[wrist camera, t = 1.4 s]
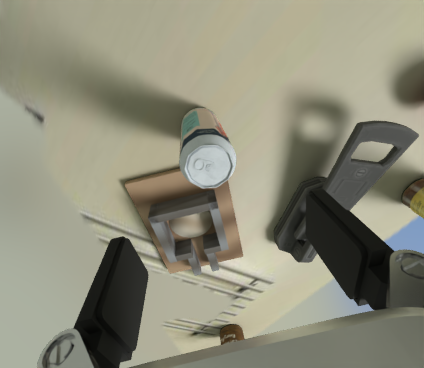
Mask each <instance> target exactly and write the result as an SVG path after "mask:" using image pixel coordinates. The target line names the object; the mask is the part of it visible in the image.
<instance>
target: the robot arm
mask: <svg viewBox="0 0 424 368" xmlns="http://www.w3.org/2000/svg"><path fill="white" fill-rule="evenodd" d="M305 232H306V237H307V239H308V240H309V242H310V243H311V245H312V246H313V248H314V249H315V250H316V252H317V253H318V255H319V256H320V258H321V259H322V260H323V262H324V263H325V265H326V266H327V268H328V269H329V271H330V272H331V273H332V275H333V276H334V278H335V279H336V281H337V282H338V283H339V285H340V286H341V288H342V289H343V291H344V292H345V293H346V295H347V296H348V297H349V298H350V299H354V301H355V302H356V303H357V305H358V306H361V305H365V304H369V305H370V307H371V308H372V309H373V310H374V311H369V312H365V313H359V314H355V315H350V316H345V317H340V318H335V319H331V320H326V321H323V322H318V323H314V324H309V325H305V326H301V327H296V328H292V329H287V330H283V331H279V332H275V333H271V334H266V335H262V336H257V337H253V338H249V339H244V340H240V341H236V342H232V343H227V344H223V345H219V346H215V347H211V348H206V349H202V350H198V351H194V352H190V353H186V354H181V355H178V356H174V357H169V358H165V359H161V360H157V361H153V362H149V363H145V364H141V365H137V366H133V367H129V368H424V254H422V253H419V252H417V251H413V250H398V251H394V250H392V249H391V248H390V247H389V246H388V245H387V244H386V243H385V242H384V241H382V240H381V239H380V238H379V237H378V236H377V235H376V234H375V233H374V232H372V231H371V230H370V229H369V228H368V227H367V226H366V225H365V224H364V223H362V222H361V221H360V220H359V219H358V218H357V217H356V216H355V215H354V214H352V213H351V212H350V211H349V210H346V209H345V208H344V207H343V206H341V205H340V204H339V203H338V202H337V201H336V200H335V199H334V198H333V197H332V196H330V195H329V194H328V193H327V192H326V191H325V190H324V189H322V188H320V189H315V190H311V191H310V192H309V194H307V195H306V230H305ZM147 282H148V271H147V269H146V268H145V266H144V264H143V263H142V261H141V259H140V257H139V256H138V254H137V252H136V250H135V249H134V247H133V245H132V244H131V242H130V240H129V239H128V238H125V237H118V238H114V239H111V241H110V243H109V245H108V247H107V250H106V252H105V255H104V257H103V259H102V262H101V264H100V267H99V269H98V272H97V273H96V276H95V278H94V281H93V283H92V285H91V288H90V290H89V292H88V295H87V297H86V300H85V302H84V305H83V307H82V309H81V311H80V314H79V316H78V319H77V321H76V323H75V326H74V328H73V329H67V330H65V331H62V332H61V333H59V334H58V335H56V336H55V337H54V338H53V339H52V340H51V341H50V342H49V343H48V344H47V345H46V347H45V348H44V349H43V351H42V353H41V355H40V357H39V360H38V363H37V368H119V365H120V362H124V361H128V360H131V357H132V352H133V351H134V350H135V349H136V346H137V340H138V335H139V328H140V323H141V317H142V311H143V305H144V300H145V294H146V288H147Z"/></svg>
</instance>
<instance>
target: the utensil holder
mask: <svg viewBox="0 0 424 368" xmlns="http://www.w3.org/2000/svg"><path fill="white" fill-rule="evenodd" d="M220 340H221V345H223V344H227V343H232V342H236V341H240V340H244V335H243V331H242V328H241V327H240V326H238V325H228V326H225V327H223V328H222V329H221V331H220Z"/></svg>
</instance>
